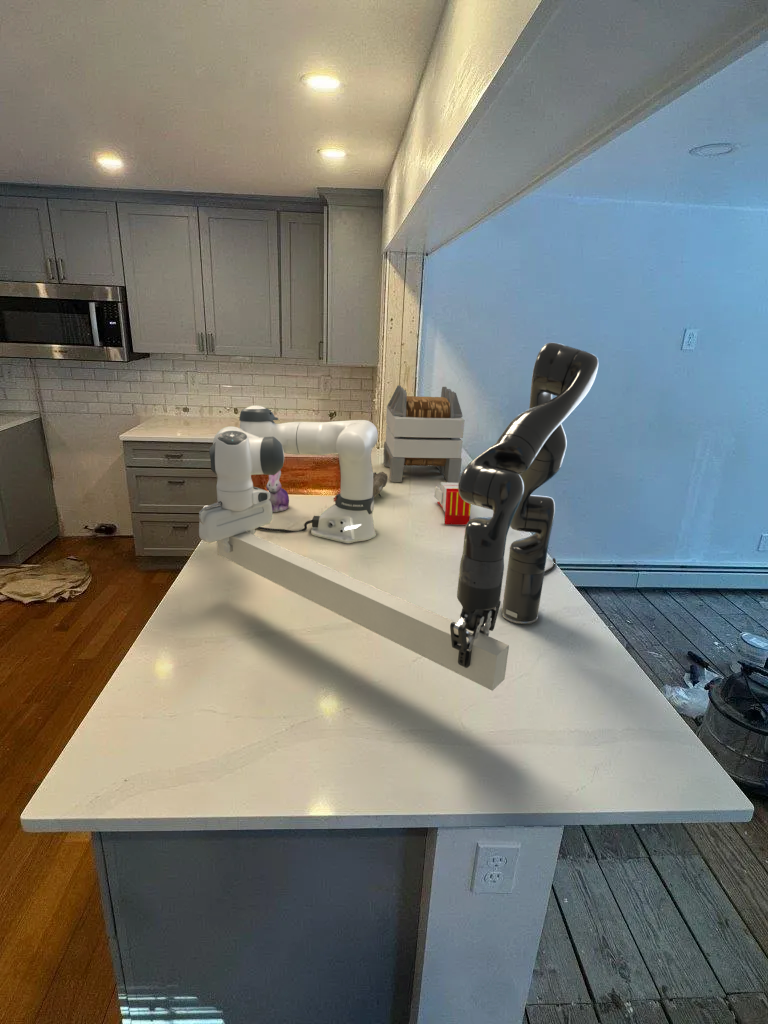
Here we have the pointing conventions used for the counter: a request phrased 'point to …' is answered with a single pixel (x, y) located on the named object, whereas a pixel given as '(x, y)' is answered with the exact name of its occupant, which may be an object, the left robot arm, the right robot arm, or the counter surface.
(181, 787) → the counter surface
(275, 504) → the figurine
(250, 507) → the left robot arm
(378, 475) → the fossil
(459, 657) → the right robot arm
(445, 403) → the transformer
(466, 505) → the toy
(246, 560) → the post
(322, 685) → the counter surface
